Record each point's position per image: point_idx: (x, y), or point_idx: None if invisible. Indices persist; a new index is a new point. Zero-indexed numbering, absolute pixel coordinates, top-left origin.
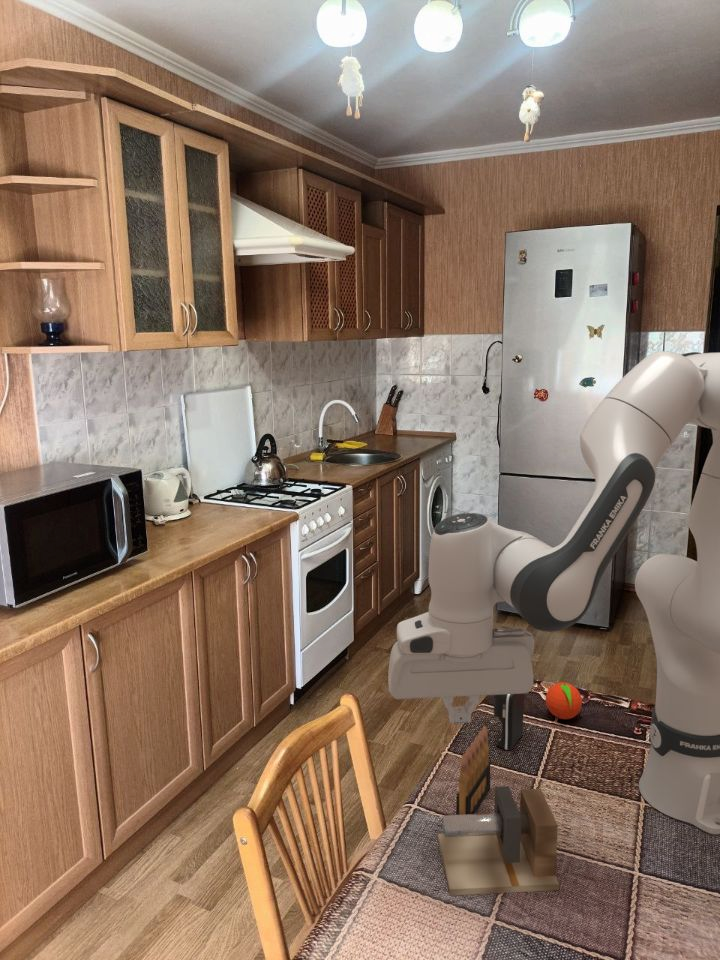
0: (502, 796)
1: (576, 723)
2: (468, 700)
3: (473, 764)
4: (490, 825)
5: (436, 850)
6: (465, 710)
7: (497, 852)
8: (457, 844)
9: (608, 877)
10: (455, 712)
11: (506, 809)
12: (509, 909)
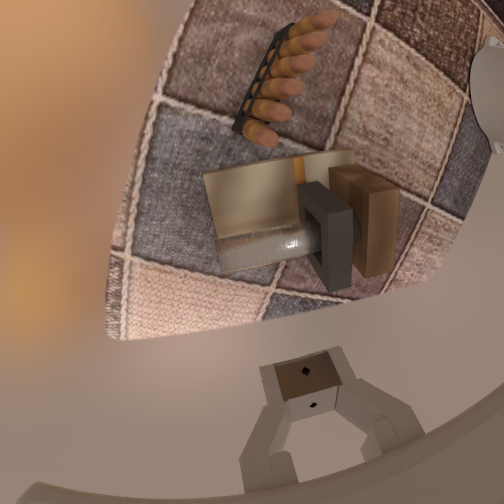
0: (335, 241)
1: None
2: (364, 408)
3: (285, 97)
4: (297, 256)
5: (202, 195)
6: (334, 402)
7: (293, 202)
8: (234, 193)
9: (403, 214)
10: (292, 420)
11: (333, 273)
12: (292, 273)
